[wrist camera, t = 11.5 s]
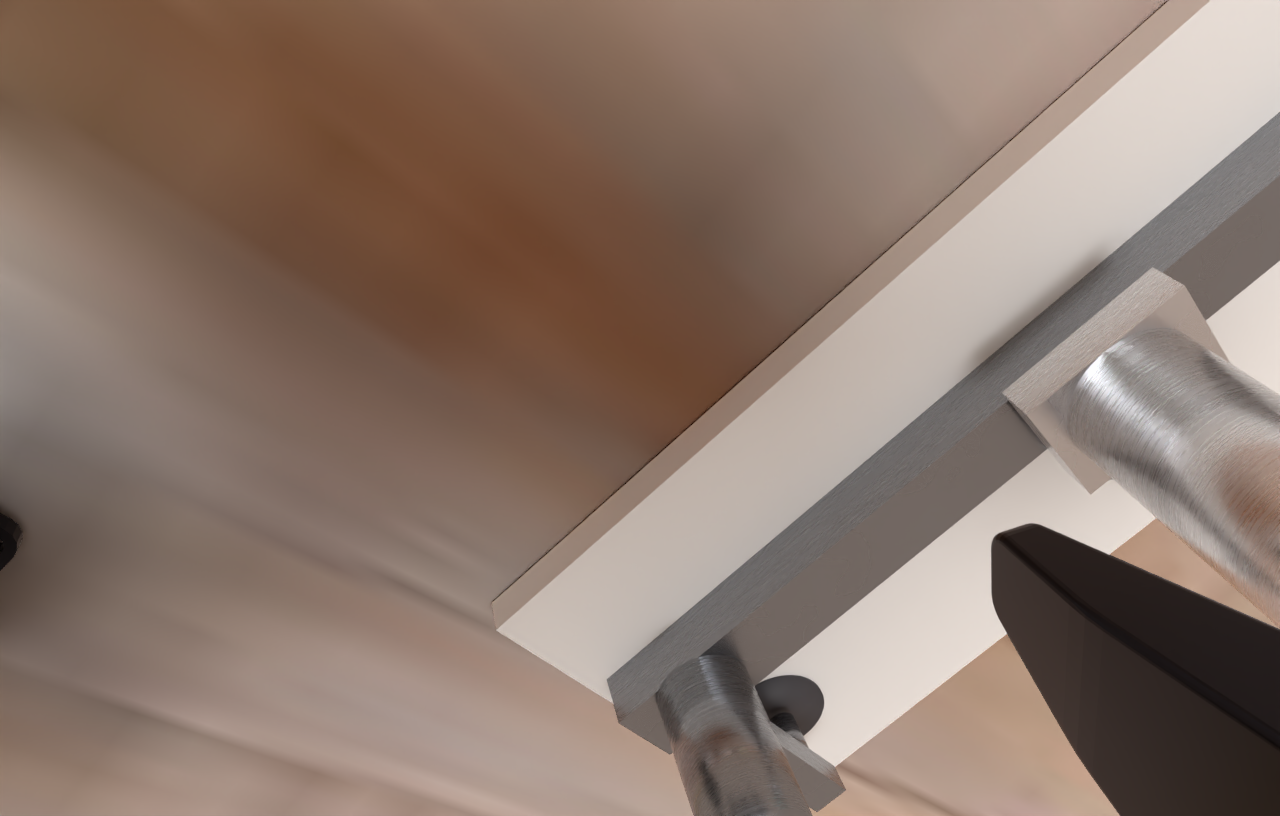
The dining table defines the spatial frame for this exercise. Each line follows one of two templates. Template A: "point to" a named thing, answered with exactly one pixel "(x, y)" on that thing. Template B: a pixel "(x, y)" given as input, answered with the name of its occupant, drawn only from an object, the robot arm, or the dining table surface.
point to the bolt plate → (921, 391)
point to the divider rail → (906, 512)
